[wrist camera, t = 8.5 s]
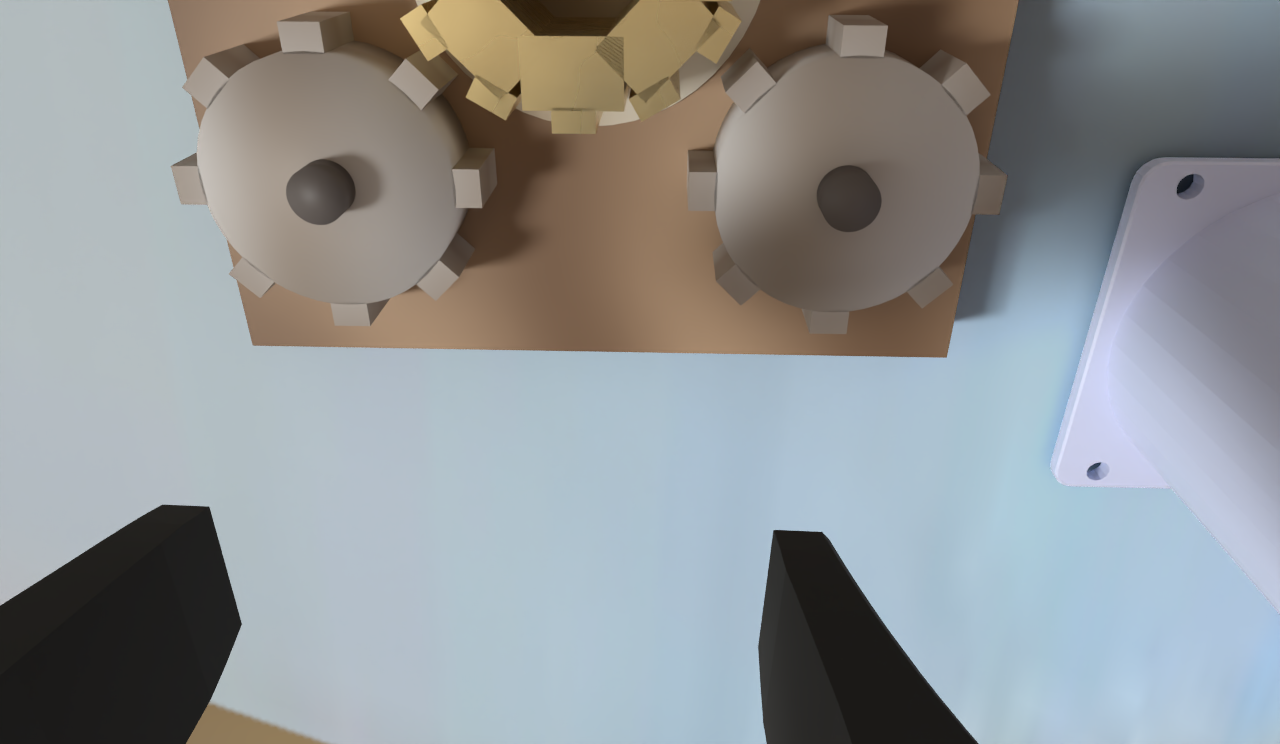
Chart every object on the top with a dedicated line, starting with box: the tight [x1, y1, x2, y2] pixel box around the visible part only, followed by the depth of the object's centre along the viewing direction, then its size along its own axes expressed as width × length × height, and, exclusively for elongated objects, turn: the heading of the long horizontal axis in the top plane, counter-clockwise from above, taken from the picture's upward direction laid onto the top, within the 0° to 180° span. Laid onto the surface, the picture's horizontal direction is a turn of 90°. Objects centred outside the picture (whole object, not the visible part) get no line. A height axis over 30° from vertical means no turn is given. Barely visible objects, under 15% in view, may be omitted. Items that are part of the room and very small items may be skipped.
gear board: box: [168, 0, 1019, 357], centre depth 15 cm, size 15×13×4 cm
